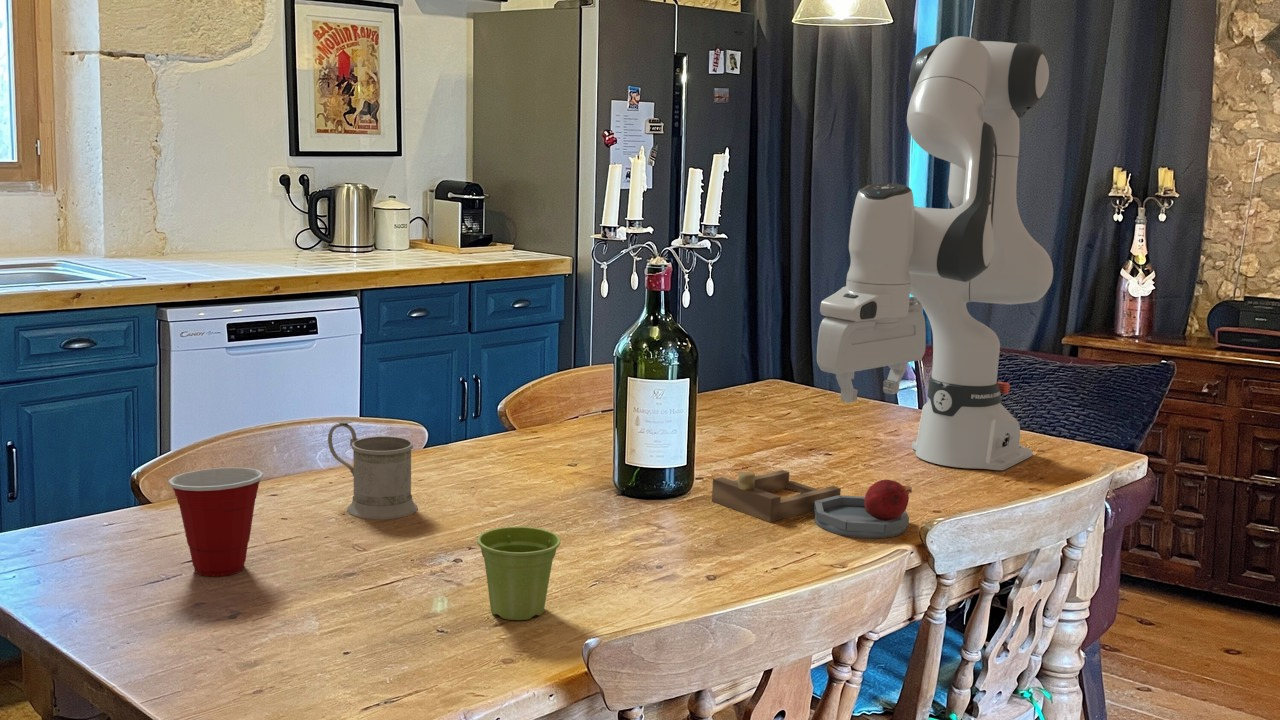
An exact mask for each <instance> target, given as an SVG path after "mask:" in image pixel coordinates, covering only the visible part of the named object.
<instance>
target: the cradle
mask: <svg viewBox="0 0 1280 720" xmlns="http://www.w3.org/2000/svg"><path fill="white" fill-rule="evenodd" d="M711 488H712V493H711V502H712V503H716V504H718V505H721V506H724V507H726V508H728V509H731V510H732V509H733V510H735V511H738V512H741V513H742V514H746V515H749V516H751V517H755V518H756V519H760V520H763V521H766V522H768V523H771V522H775V521H780V520H784V519H787V518H791V517H795V516H799V515H803V514H807V513H811V512H815V511H814V503H815V501H817V500H821V499H825V498H829V497H833V496H837V495H841V491H842V490H841V488H840V487H839V486H838V487H837V486H835V485H833V486H828V487H823V488H819V489H818V488H814V487H812V486H809V485H806V484H803V483H799V482H796V481H793V480H790V471H787V470H784V469H781V470H776V471H773V472H768V473H762V474H759V475H755V473H753V472H745V471H744V472H739V473H738V479H737V480H736V479H734V480H732V479H730V478H726V477H724V476H721V477H715V478H712V487H711ZM783 489H788V490H791V491H794V492H798V493H799V494H794V495H790V496H786V497H782V498H781V496H780V495H777V494H775V493H771V492H775V491H779V490H783Z"/></svg>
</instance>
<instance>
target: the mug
mask: <svg viewBox="0 0 1280 720" xmlns="http://www.w3.org/2000/svg"><path fill="white" fill-rule="evenodd" d="M353 422H354V421H353V420H349V419H345V420H338V421H337V423H335V424H334V425H332V426H331V428H329V432H328V435H327V443H328V448H329V451H330V453H331V455H332V456H333V458H334V459H335V460H337V461H338V462H339V463H341V464H342V465H343V466H345V468H347V469H348V470H350V471H349V472H350V473H351V474H352V477H353V496H352V502H351V503H350V504H349V505H348V506H347V507H346V509H347V510H346V512H347V513H348V514H349V515H350V516H353V517H355V518H359V519H364V520H374V521H376V520H377V521H379V520H381V521H382V520H383V521H384V520H387V521H388V520H394V519H395V520H396V519H402V518H405V517H408V516H410V515H413V514H415V513H416V512H418V505H417V504H416V502H414V501H413V495H412V449H413V448H414V443H413V441H412V440H410V439H407V438H405V437H399V436H390V435H389V436H388V435H386V436H384V435H383V436H382V435H381V436H368V437H362V438H359V437H358V438H357V434H356V431H355V429H354V427H352V426H351V425H349V424H351V423H353ZM341 427H343V428H347V429H348V431H350V433H351V437H352V438H350V439H349V441H350V443H349V445H350V447H351V450H353V466H352V465H351V464H350V463H349V462H347V461H346V460H344V459H342V458H341V457H340V456H339V455H338V453H336V451H335V448H334V444H333V433H334V432H335V430H336V429H337V428H341Z"/></svg>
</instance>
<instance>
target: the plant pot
mask: <svg viewBox="0 0 1280 720" xmlns="http://www.w3.org/2000/svg"><path fill="white" fill-rule="evenodd" d="M476 543H477V545H478V546H479V547H480V551H481V552H480V553H481V556H482V557H483V560H484V567H485V573H486V580H487V581H486V582H487V583H486V584H487V589H488V599H489V607H490V612H491V614H493V615H498V616H499V617H500V618H502V619H505V620H510V621H525V620H530V619H532V618H533V617H535V616H541V615H543V614H544V611H545V607H546V600H547V595H548V588H549V583H550V577H551V573H552V572H551V571H552V566H553V561H554V560H553V559H554V558H555V556H556V554H557V553H556V552H557V548H559V546H560V545H561V537H560V536H559V535H558V534H557V533H555V532H553V531H550V530H547V529H543V528H538V527H531V526H506V527H505V526H504V527H499V528H493V529H489V530H485V531H484V532H481V533H480V534H479V535H478V536H477V542H476Z"/></svg>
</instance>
